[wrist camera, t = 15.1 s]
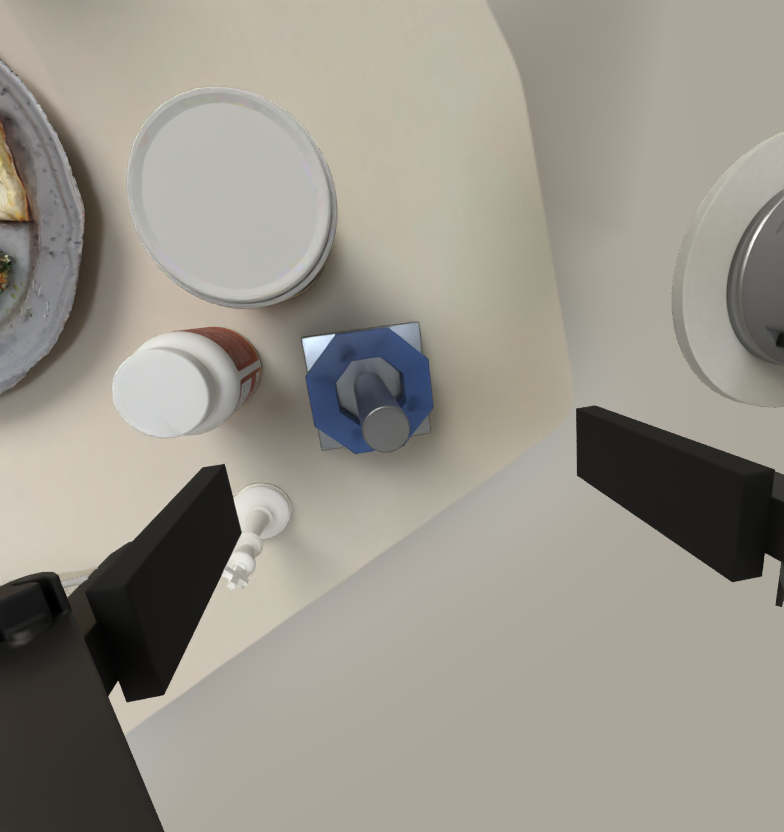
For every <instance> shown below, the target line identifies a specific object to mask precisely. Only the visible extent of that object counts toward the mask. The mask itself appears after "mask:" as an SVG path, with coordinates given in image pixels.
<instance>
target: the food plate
mask: <svg viewBox="0 0 784 832" xmlns="http://www.w3.org/2000/svg"><path fill="white" fill-rule="evenodd" d="M12 72H13V71H12V70H11V69H10V67H9V66H8V65H6V63H5V62H4V61H2V60H0V394H2V393H3V392H5V391H6V390H9V389H11V388H13V387H14V386H15V384H16V383H17V382H20V381H21V379H23V377H25V376H26V373H27V372H28V370H29V369H30V368H32V367H33V366H34V365H36V363H37V362H39V360H41V359H42V357H44V356H46V355H47V354H49V351H50V349H52V348H53V346H54V344H56V342H57V341H58V337H59V335H60V333H61V331H62V330H64V325H65V323H66V321H67V319H68V318H69V317H70V316H69V312H70V313H71V310H72V306H73V303H74V301H75V300H74V299H75V298H74V296H75V293H76V289H77V285H78V284H77V283H78V281H79V277H80V275H79V269H80V260H81V262H82V258H81V255H82V251H81V250H82V248H83V241H84V240H83V239H82V237H83V236H82V235H83V234H84V230H83V229H84V225H85V222H84V220H85V218H84V216H85V210H84V206H83V200H82V198H81V196H80V192H79V191H78V190H79V187H78V186H77V185H76V184H77V182H76V180H75V178H74V177H72V173H73V172H72V171H71V170H72V169H71V165H69V163H68V162H67V161H68V160H69V159H67V158H68V157H67V156H66V155H65V154H66V153H65V152H64V149H63V146H62V144H60V143H61V142H60V141H59V140H58V136H57V133H56V131H55V130H54V128H53V127H52V126H51V122H50V121H49V120H48V118H47V117H46V113H45V111H43V110H42V109H41V106H40V104H39V103H38V101H37V100H35V99H34V98H35V97H34V96H33V95H32V93H30V91H29V90H28V89H27V87H25V85H24V84H23V82H22V80H20V79H19V78H18V75H17V74H14V73H12ZM77 275H79V277H77ZM68 316H69V317H68Z"/></svg>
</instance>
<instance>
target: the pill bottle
mask: <svg viewBox="0 0 784 832" xmlns="http://www.w3.org/2000/svg"><path fill="white" fill-rule="evenodd" d="M260 378H261V363H260V359H259V356H258V354H257V352H256V350H255V349H254V347H253V346H252V345H251V344H250V342H249V341H248V340H247V339H246V338H244V337H243V336H242V335H240V334H238V333H237V332H235V331H232V330H230V329H226V328H221V327H207V328H198V329H190V330H181V331H173V332H168V333H164V334H161V335H158V336H155V337H153V338H151V339H149V340H148V341H146V342H145V343H144V344H143V345H141V346H140V347H139V348H138V349H137V350H136V352H135V353H134V355H132V356H130V357H129V358H127V359H126V360H125V361H124V362H123V363H122V364H121V365H120V366H119V368H118V369H117V371H116V373H115V376H114V379H113V384H112V395H113V400H114V403H115V406H116V408H117V410H118V412H119V413H120V415H121V416H122V418H123V419H124V420H125V421H126V422H127V423H128V424H129V425H130V426H132V427H133V428H135V429H136V430H138V431H139V432H142V433H144V434H146V435H149V436H152V437H157V438H175V437H179V436H182V435H198V434H202V433H205V432H208V431H210V430H213V429H215V428H216V427H218V426H219V425H221V424H222V423H223V422H224V421H226V420H227V419H228V418H229V417H230V416H231V415H232V414H233V413H234V412H235V411H236V410H237V409H238V408H239V407H240V406H241V405H242V404H243V403H244V402H245V401H246V400H247V399H248V398H250V396H251V395H252V394H253V393H254V392H255V390H256V389H257V387H258V385H259V382H260Z"/></svg>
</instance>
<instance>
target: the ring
mask: <svg viewBox="0 0 784 832" xmlns="http://www.w3.org/2000/svg"><path fill="white" fill-rule="evenodd" d="M377 357H381V358H383V359H384V360H385V361H387V362H388V363H389V364H391V365H392V366H393V367H394V368H396V369H397V370H398V371H399V372H400V380H401V388H402V398H401V399H400V400H399V402H398V404H399V406H400V407H401V409H402V410H403V412H404V413H405V415H406V416H407V418H408V420H409V424H410V433H409V437H408V439H407V441H408V440H409V438H410V437H411V436H412V434H413V433H414V432H415V431H416V429H417V428H418V427H419V426H420V424H421V423H422V422H423V420H424V419H425V418H426V417H427V415H428V414H429V413H430V412H431V410H432V409H433V399H432V389H431V380H430V370H429V360H428V358H427V357H425V356H424V355H423V354H421V353H420V352H419V351H418V350H416V349H415V348H414V347H413V346H411V345H410V344H409V343H408V342H406V341H405V340H404V339H402V338H401V337H400V336H399V335H397V334H396V333H395V332H394V331H392V330H391V329H390V328H388V327H379V328H372V329H364V330H357V331H350V332H342V333H336V334H335V336H334V337H333V339H332V340H331V341H330V343H329V344H328V345H327V347H326V348H325V350H324V351H323V352H322V354H321V355H320V356H319V358H318V359H317V361H316V362H315V363H314V365H313V366H312V367H311V369H310V370H309V372H308V373H307V375H306V383H307V388H308V394H309V399H310V404H311V410H312V415H313V420H314V426H315V427H316V428H318V429H319V430H321V431H322V432H324V433H325V434H327V435H328V436H329V437H331V438H332V439H334V440H335V441H337V442H338V443H340V444H341V445H343V446H344V447H346V448H347V449H349V450H350V451H352V452H353V453H355V454H358V453H364V452H371V451H376V450H374V449H372V448H371V447H370V446H369V445H368V444H367V443H366V442H365V440H364V438H363V434H362V429H361V424H360V420H359V419H358V418H356V417H355V416H353V415H352V414H350V413H349V412H348V411H346V410H345V409H343V408H342V407H340V405H339V399H338V393H337V387H336V382H337V381H338V379H339V378H340V377H341V375H342V374H343V373H344V371H345V370H346V369H347V367H348V366H349V365H350V363H351V362H352V361H356V360H363V359H370V358H377ZM407 441H406V442H407ZM406 442H405V443H406ZM405 443H404V445H405ZM404 445H403V446H404Z"/></svg>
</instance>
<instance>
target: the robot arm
mask: <svg viewBox="0 0 784 832" xmlns="http://www.w3.org/2000/svg"><path fill="white" fill-rule="evenodd" d="M726 298H727V309H728V315H729V319H730V323H731V325H732V328H733V330H734V332H735V334H736V336H737V338H738V339H739V341H740V342H741V344H742V345H743V346H744V347H745V348H746V349H747V350H748V351H749V352H750V353H751V354H753V355H754V356H755V357H757V358H759V359H761V360H763V361H766V362H768V363H772V364H777V365H784V189H783V190H781V191H780V192H779V193H777V194H776V195H775V196H774V197H772V198H771V199H770V200H769V201H768V202H767V203H766V204H765V205H764V206H763V207H762V208H761V209H760V210H759V212H758V213H757V214H756V215H755V217H754V218H753V219H752V220H751V222H750V224H749V225H748V227H747V228H746V230H745V231H744V233H743V235H742V237H741V239H740V241H739V243H738V245H737V247H736V250H735V253H734V255H733V258H732V261H731V265H730V269H729V274H728V280H727V292H726ZM576 429H577V476H579V477H580V478H582V479H583V480H584V481H586V482H587V483H589V484H590V485H592V486H593V487H595V488H596V489H597V490H599V491H600V492H602V493H603V494H605V495H606V496H608V497H609V498H611V499H612V500H613V501H615V502H616V503H618V504H620V505H621V506H622V507H624V508H625V509H627V510H628V511H630V512H631V513H632V514H634V515H635V516H637V517H638V518H640V519H641V520H643V521H644V522H645V523H647V524H648V525H650V526H651V527H653V528H654V529H656V530H657V531H659V532H660V533H661V534H663V535H664V536H666V537H667V538H669V539H670V540H672V541H673V542H675V543H676V544H678V545H679V546H680V547H682V548H683V549H685V550H686V551H688V552H689V553H691V554H692V555H694V556H695V557H696V558H698V559H699V560H701V561H702V562H704V563H705V564H707V565H708V566H710V567H711V568H712V569H714V570H715V571H717V572H718V573H720V574H721V575H723V576H724V577H725V578H727V579H728V580H730V581H732V582H736V581H741V580H746V579H751V578H756V577H761V576H762V571H763V563H764V555H765V553H766V554H768V555H770V556H772V557H773V558H775V559H777V560H779V561H781V568H780V575H779V583H778V590H777V598H776V606H780V607H782V604H783V601H784V475H783V474H780V473H778V472H775V470H774V469H772V468H769V467H766V466H763V465H760V464H757V463H755V462H752V461H749V460H746V459H744V458H741V457H738V456H735V455H732V454H730V453H727V452H724V451H721V450H718V449H715V448H713V447H710V446H707V445H704V444H702V443H699V442H696V441H693V440H690V439H688V438H685V437H682V436H679V435H676V434H674V433H671V432H668V431H665V430H662V429H660V428H657V427H654V426H651V425H648V424H646V423H643V422H640V421H637V420H634V419H632V418H629V417H626V416H623V415H620V414H618V413H615V412H612V411H609V410H606V409H604V408H601V407H598V406H589V407H583V408H577V409H576ZM241 534H242V531H241V527H240V523H239V519H238V515H237V511H236V507H235V503H234V499H233V495H232V491H231V487H230V483H229V479H228V475H227V471H226V467H225V464H221V465H215V466H209V467H203V468H202V469H201V470H200V471H199V472H198V473H197V474H196V475H195V476H194V477H193V478H192V479H191V480H190V481H189V482H188V483H187V484H186V486H185V487H184V488H183V489H182V490H181V491H180V492H179V493H178V494H177V495H176V496H175V497H174V498H173V499H172V500H171V501H170V502H169V503H168V505H167V506H166V507H165V508H164V509H163V510H162V511H161V512H160V513H159V514H158V515H157V516H156V517H155V518H154V519H153V520H152V521H151V522H150V523H149V525H148V526H147V527H146V528H145V529H144V530H143V531H142V532H141V533H140V534H139V535H138V536H137V537H136V538H135V539H134V540H133V541H132V542H128V543H127V544H125V545H124V546H122V547H121V548H119V549H118V550H116V551H115V552H113V553H112V554H110V555H109V556H108V557H107V558H106V559H105V560H104V561H103V562H102V563H101V564H100V565H99V566H98V569H95V570H94V571H93V572H92V573H91V574H90V575H89V576H88V580H85V581H84V582H83V583H82V584H81V585H80V586H79V587H78V588H77V589H76V590H75V591H74V592H73V593H72V594H71V595H70V596H69V597H68V598H67V596H66V593H65V591H64V588H63V586H62V583H61V581H60V578H59V576H58V575H57V574H56V573H54V572H41V573H36V574H32V575H28V576H25V577H22V578H19V579H16V580H14V581H11V582H9V583H7V584H5V585H3V586H1V587H0V832H164V830H163V827H162V825H161V822H160V820H159V818H158V815H157V813H156V810H155V808H154V806H153V804H152V801H151V798H150V796H149V794H148V792H147V789H146V786H145V784H144V782H143V779H142V777H141V774H140V772H139V770H138V767H137V765H136V762H135V760H134V758H133V755H132V753H131V751H130V748H129V746H128V743H127V741H126V738H125V736H124V734H123V731H122V729H121V726H120V724H119V722H118V719H117V717H116V714H115V712H114V710H113V707H112V705H111V702H110V700H109V698H108V696H109V694H110V693H111V691H112V689H113V688H114V686H115V685H116V683H117V681H119V683H120V686H121V689H122V691H123V694H124V697H125V699H126V702H131V701H136V700H142V699H147V698H152V697H157V696H162V695H164V694H165V692H166V690H167V688H168V686H169V684H170V682H171V679H172V677H173V675H174V673H175V671H176V669H177V667H178V665H179V663H180V661H181V659H182V657H183V654H184V652H185V650H186V648H187V646H188V644H189V642H190V640H191V638H192V636H193V634H194V632H195V629H196V627H197V625H198V623H199V621H200V619H201V617H202V615H203V613H204V611H205V609H206V607H207V604H208V602H209V600H210V598H211V596H212V594H213V592H214V590H215V588H216V586H217V584H218V582H219V580H220V577H221V575H222V573H223V571H224V569H225V567H226V565H227V563H228V561H229V559H230V557H231V555H232V552H233V550H234V548H235V546H236V544H237V542H238V540H239V538H240V536H241Z"/></svg>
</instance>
